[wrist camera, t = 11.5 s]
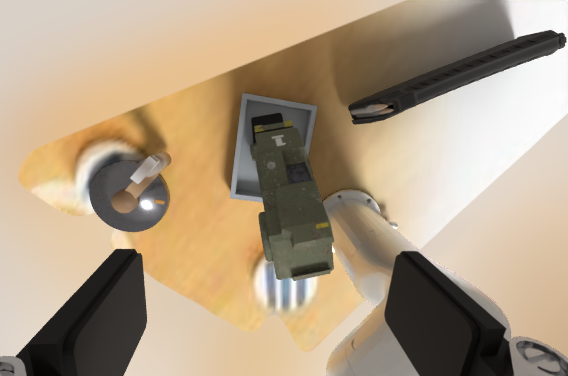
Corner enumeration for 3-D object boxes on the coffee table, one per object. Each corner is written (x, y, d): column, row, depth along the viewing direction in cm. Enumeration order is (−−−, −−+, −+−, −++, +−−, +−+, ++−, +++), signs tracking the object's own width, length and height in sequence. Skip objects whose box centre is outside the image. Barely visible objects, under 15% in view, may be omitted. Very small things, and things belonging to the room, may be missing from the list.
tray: (313, 106, 46) (317, 106, 43) (296, 200, 50) (298, 206, 47) (243, 93, 45) (242, 92, 42) (231, 192, 49) (229, 198, 46)
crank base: (171, 165, 47) (169, 167, 45) (167, 231, 50) (164, 235, 48) (94, 155, 45) (88, 157, 43) (94, 224, 48) (89, 228, 46)
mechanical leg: (239, 95, 43) (238, 194, 17) (285, 87, 44) (351, 173, 18) (255, 173, 50) (272, 327, 24) (295, 166, 50) (352, 310, 25)
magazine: (588, 15, 38) (429, 89, 30) (589, 40, 39) (435, 118, 31) (466, 52, 54) (340, 107, 45) (469, 69, 55) (346, 126, 46)
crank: (130, 213, 46) (104, 235, 38) (111, 199, 45) (80, 219, 37) (180, 157, 44) (164, 168, 36) (162, 142, 44) (141, 149, 36)
